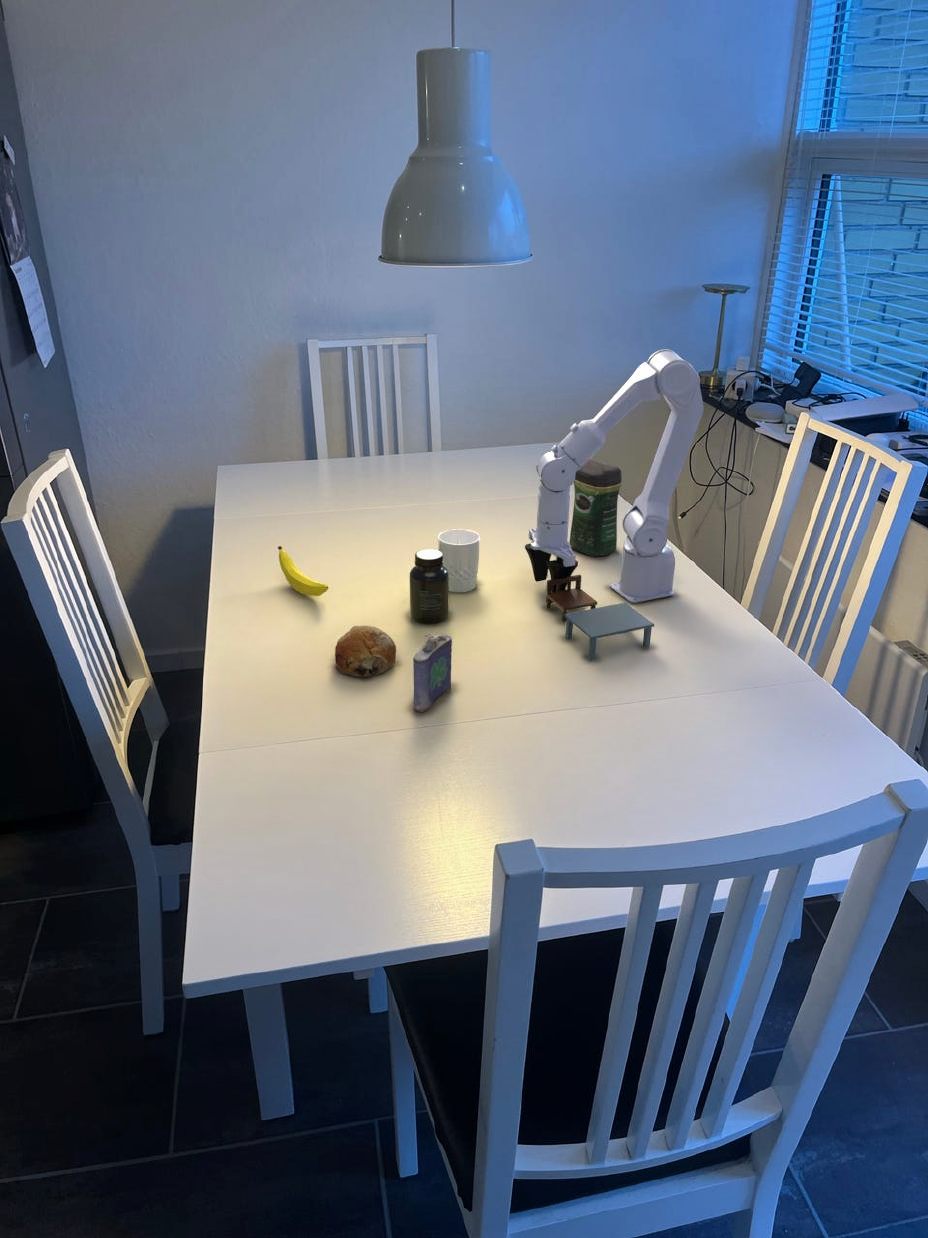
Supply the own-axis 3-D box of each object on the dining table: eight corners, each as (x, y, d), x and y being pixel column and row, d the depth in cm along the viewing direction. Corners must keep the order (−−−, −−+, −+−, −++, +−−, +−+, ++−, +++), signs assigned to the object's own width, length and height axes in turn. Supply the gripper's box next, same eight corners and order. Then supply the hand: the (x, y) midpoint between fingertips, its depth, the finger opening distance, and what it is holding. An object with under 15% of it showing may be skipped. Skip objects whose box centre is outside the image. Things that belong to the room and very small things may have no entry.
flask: (424, 714, 141) (423, 650, 137) (407, 709, 143) (406, 646, 138) (455, 686, 149) (455, 625, 144) (438, 682, 150) (438, 621, 145)
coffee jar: (622, 551, 198) (630, 465, 190) (594, 560, 194) (601, 472, 185) (590, 537, 205) (596, 453, 196) (562, 545, 201) (567, 460, 192)
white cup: (475, 596, 178) (475, 546, 174) (433, 592, 180) (433, 542, 175) (482, 579, 185) (483, 530, 181) (443, 575, 186) (443, 527, 182)
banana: (322, 613, 171) (319, 581, 168) (274, 578, 185) (271, 547, 182) (336, 609, 173) (334, 577, 170) (288, 574, 186) (285, 544, 184)
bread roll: (402, 678, 158) (409, 630, 158) (378, 682, 148) (386, 631, 148) (347, 668, 161) (354, 621, 160) (320, 671, 151) (328, 621, 151)
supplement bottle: (413, 606, 174) (412, 545, 168) (450, 608, 173) (450, 547, 168) (407, 623, 168) (406, 560, 162) (446, 625, 167) (446, 562, 162)
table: (623, 625, 168) (625, 602, 166) (651, 647, 161) (654, 623, 159) (563, 637, 164) (564, 614, 162) (589, 661, 156) (591, 637, 154)
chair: (575, 600, 177) (577, 572, 174) (596, 616, 171) (598, 588, 168) (543, 606, 174) (544, 578, 172) (562, 623, 168) (564, 594, 166)
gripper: (515, 509, 177) (512, 576, 183) (552, 536, 165) (548, 606, 171) (548, 504, 179) (545, 570, 185) (587, 530, 167) (582, 600, 174)
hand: (549, 587), depth 178 cm, fingers open, 6 cm apart
